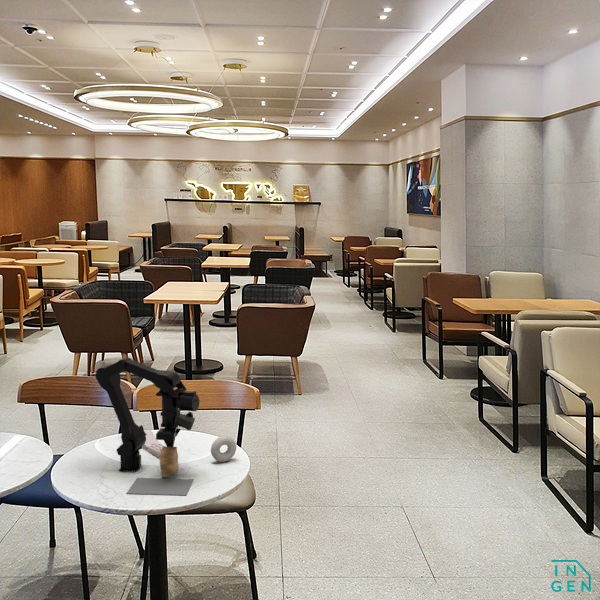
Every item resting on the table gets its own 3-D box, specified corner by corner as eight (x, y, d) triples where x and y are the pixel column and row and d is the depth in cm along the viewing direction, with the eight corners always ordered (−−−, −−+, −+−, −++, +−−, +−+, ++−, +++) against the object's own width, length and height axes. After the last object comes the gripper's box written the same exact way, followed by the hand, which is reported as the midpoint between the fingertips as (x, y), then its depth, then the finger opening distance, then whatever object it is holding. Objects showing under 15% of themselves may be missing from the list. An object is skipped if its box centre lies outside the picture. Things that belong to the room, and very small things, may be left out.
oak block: (161, 478, 235) (159, 454, 231) (164, 470, 239) (162, 446, 236) (175, 479, 234) (173, 454, 231) (178, 470, 239) (176, 446, 236)
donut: (212, 465, 247) (212, 439, 246) (209, 462, 251) (209, 436, 249) (237, 461, 252) (237, 435, 251) (234, 457, 255) (234, 432, 254)
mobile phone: (150, 429, 270) (182, 445, 251) (150, 443, 270) (182, 461, 252) (136, 432, 266) (167, 449, 247) (137, 446, 267) (168, 465, 248)
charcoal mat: (126, 494, 221) (126, 493, 221) (137, 478, 234) (137, 477, 234) (186, 495, 221) (186, 494, 221) (193, 480, 234) (193, 479, 234)
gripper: (187, 416, 226) (188, 460, 228) (197, 400, 244) (197, 441, 246) (155, 416, 226) (156, 460, 228) (167, 400, 244) (168, 441, 247)
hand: (170, 450), depth 237 cm, fingers closed
